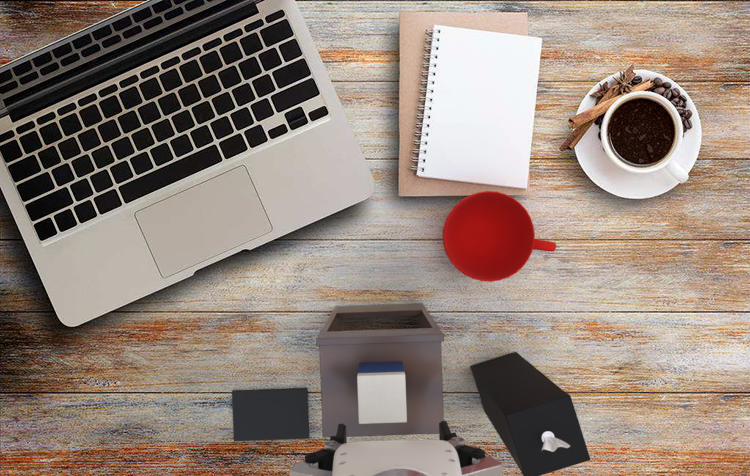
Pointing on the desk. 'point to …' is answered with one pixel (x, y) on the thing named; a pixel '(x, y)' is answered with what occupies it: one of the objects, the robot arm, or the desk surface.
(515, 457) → the tissue box
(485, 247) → the ceramic cup
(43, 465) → the desk surface
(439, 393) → the square planter pot
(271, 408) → the mat
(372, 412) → the box
